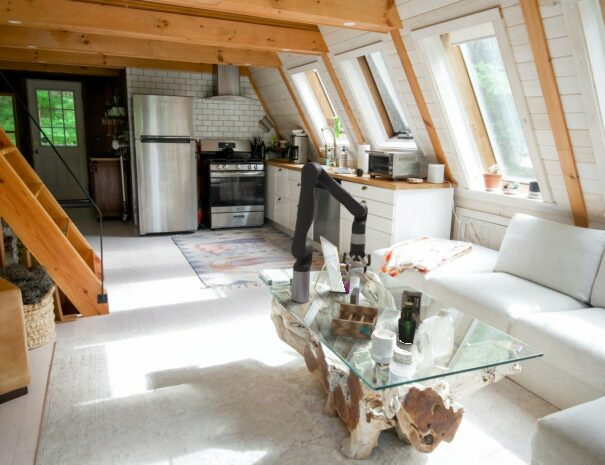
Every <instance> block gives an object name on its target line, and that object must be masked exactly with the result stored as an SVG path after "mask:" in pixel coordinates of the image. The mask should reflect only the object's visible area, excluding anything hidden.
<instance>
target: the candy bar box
mask: <svg viewBox="0 0 605 465" xmlns="http://www.w3.org/2000/svg"><path fill="white" fill-rule="evenodd" d="M338 263H339V262H338ZM339 264H340V272H341V276H342V281H343V284H344V288H345V291H346V292H347V293H346V294H350V289H351V288H350V287H351V275H352V274H351V273H352V264H350V263H349V272H347V271H346V264H344V263H339Z"/></svg>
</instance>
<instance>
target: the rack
mask: <svg viewBox="0 0 605 465" xmlns="http://www.w3.org/2000/svg"><path fill="white" fill-rule="evenodd" d="M339 305H340V306H339V312H338V313H337V316H336V318H333V317H332V318H331V319H332V320H331V334H332V335H341V336H346V337H347V336H348V337H353V338H354V337H355V338H361V339H368V340H370V339H369V338H371V335H372V333H373V331H374V330H376V327H377V324H376V323H378V315H379V307H376V306H368V305H360V304H359V305H353V304H350V303H344V302H340V303H339ZM375 326H376V327H375ZM374 332H375V331H374Z"/></svg>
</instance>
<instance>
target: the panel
mask: <svg viewBox="0 0 605 465" xmlns="http://www.w3.org/2000/svg"><path fill="white" fill-rule="evenodd" d="M359 301H360V288H359V287H353V289H352V291H351V293H350V296H349V304H353V305H360V304H359Z"/></svg>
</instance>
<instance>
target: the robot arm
mask: <svg viewBox="0 0 605 465" xmlns="http://www.w3.org/2000/svg"><path fill="white" fill-rule="evenodd" d="M316 182H317V183H320V184H321V185H322V186H323V188H325V189H326V190H327V191H328V193H329V194H330V195H331V196H332V197H333V198H334V199H335V200H336V201H337V202H338V203H340V205H343V206H344V208H345V209H346V210H347V211H348V212H349V214H350V215H352V216H353V221H352V224H351V234H350V241H349V243H350V246H349V251H346V250H345V251H344V252H343V257H342V264H346V271H347V272H349V264H350V263H351V262H352V261H353V262H359V263H360V262H361V264H362V265H363V274H366V273H367V271H368V270H367V269H368V267H370V266H371V264H372V257H371V256H372V254H371V253H366V251H365V250H366V231H367V229H366V226H367V225H366V224H367V220H368V213H369V209H368V208H369V207H368V205H367V204H366V203H365V202H362V201H358V200H356V199H355V198H354V195H353V194H352V193H351V192H350V191H348V190H347V189H346V188H344V187H343V186H342V185H341V184H340V183H338V182H337V181H336V180H335V179H334V178H333V177H332V176H331V175H330V174H329V173H328V172H327V170H325V169H324V167H323V166H322V165H321V164H320V163H319V162H318V161H317V162H316V161H311V162H306V163H304V164H303V166H302V167H301V170H300V190H299V196H298V202H297V211H296V220H295V228H294V234H293V238H292V242H291V247H290V252H291V256H292V257H293V258H294V259H296V260H295V262H293V265H292V283H291V288H290V293H291V294H290V301H291V300H294V301H296V302H295V303H297V302H299V303H298V304H305V303H308V302H309V301H310V284H311V282H310V280H311V266H312V264H313V256H314V255H313V254H314V249H313V244H312V243H311V241H310V240H308V239H307V237H308V232H309V231H310V229H311V226H312V225H313V222H314V220H315V216H316V208H317V207H316V205H317V204H316V197H315V186H316ZM348 256H349V257H350V258H349V259H348V260H347V257H348ZM365 257H366V259H367V262H366V260H365ZM294 301H293V302H294Z"/></svg>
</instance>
